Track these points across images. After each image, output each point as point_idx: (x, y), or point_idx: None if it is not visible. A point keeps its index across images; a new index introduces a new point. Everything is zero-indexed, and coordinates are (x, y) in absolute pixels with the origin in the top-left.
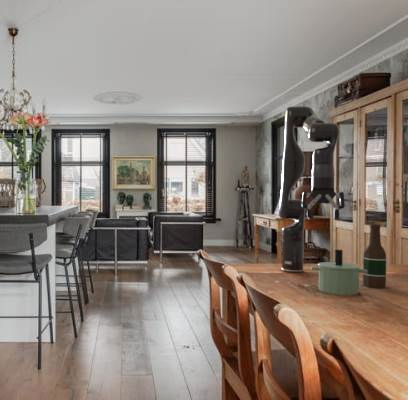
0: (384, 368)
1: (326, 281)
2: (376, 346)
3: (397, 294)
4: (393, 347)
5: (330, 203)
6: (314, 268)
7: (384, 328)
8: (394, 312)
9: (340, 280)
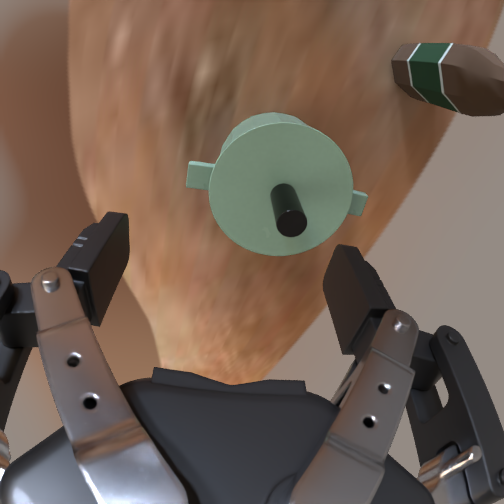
0: None
1: None
2: None
3: (415, 167)
4: None
5: (352, 383)
6: (196, 186)
7: (248, 372)
8: (308, 313)
9: None
